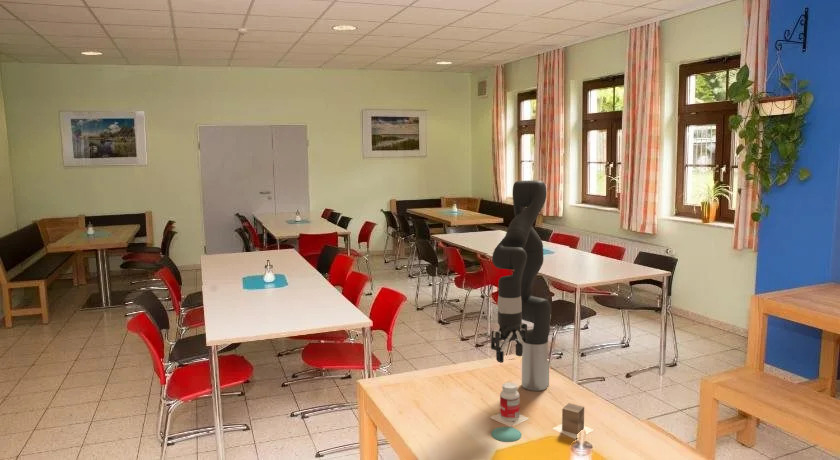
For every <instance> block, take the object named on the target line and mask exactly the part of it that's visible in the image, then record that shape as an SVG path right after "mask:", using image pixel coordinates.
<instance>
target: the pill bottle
mask: <svg viewBox="0 0 840 460" xmlns="http://www.w3.org/2000/svg"><path fill="white" fill-rule="evenodd" d="M499 402H500V403H499V407H500V409H499V413H500V417H501V419H503V420H505V421H510V422H511V421H516V420H518V419H519V414H520V392H519V391H518V384H516V383H514V382H510V381H508V382H505V383H502V390H501V391H500V394H499Z"/></svg>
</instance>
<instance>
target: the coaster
mask: <svg viewBox="0 0 840 460" xmlns="http://www.w3.org/2000/svg"><path fill="white" fill-rule="evenodd" d="M491 436H492V438H493V439H495V440H498V441H499V442H500V441H501V442H504V443H506V442H507V443H511V442H517V441H519V440H520V439H521V438H522V432H521V431H520V430H519V429H518V428H515V427H509V426H501V427H496V428H494V429H493V430H492V431H491Z"/></svg>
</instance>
